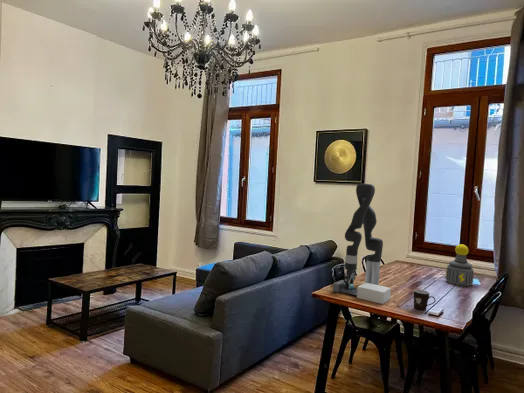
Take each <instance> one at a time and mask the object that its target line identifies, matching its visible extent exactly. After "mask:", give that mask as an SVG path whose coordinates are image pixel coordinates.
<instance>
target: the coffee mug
mask: <svg viewBox="0 0 524 393" xmlns="http://www.w3.org/2000/svg"><path fill="white" fill-rule="evenodd" d="M430 298H432V299H433V300H434V301H433V302H432V303H429V299H430ZM428 303H429V304H428ZM435 303H436V298H435V297H434V296H433V295H432V296H430V292H429V291H427V290H425V289H424V290H423V289H413V308H414V309H415V310H417V311H422V312H423V311H426V310H427V307H428V306H430V305H433V304H435Z"/></svg>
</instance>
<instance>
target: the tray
mask: <svg viewBox="0 0 524 393" xmlns="http://www.w3.org/2000/svg"><path fill="white" fill-rule="evenodd" d="M344 284H345V282H344V279H341V280H338V281H336V282H333V284H332V285H333V286H332V292H334V293H344V294H349V295H353V296H356V297H357V290H358V287H357V288H356V287H354V291H349V290H345V289H344Z"/></svg>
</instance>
